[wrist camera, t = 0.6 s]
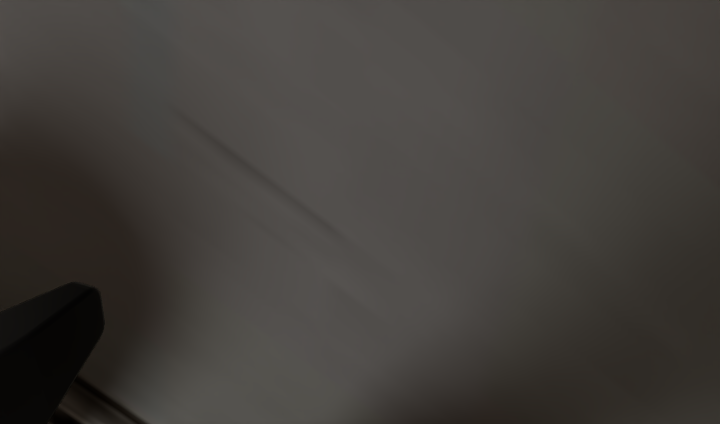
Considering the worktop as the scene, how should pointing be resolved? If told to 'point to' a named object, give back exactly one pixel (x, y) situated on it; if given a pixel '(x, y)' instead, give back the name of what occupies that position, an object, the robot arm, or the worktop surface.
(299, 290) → the worktop surface
